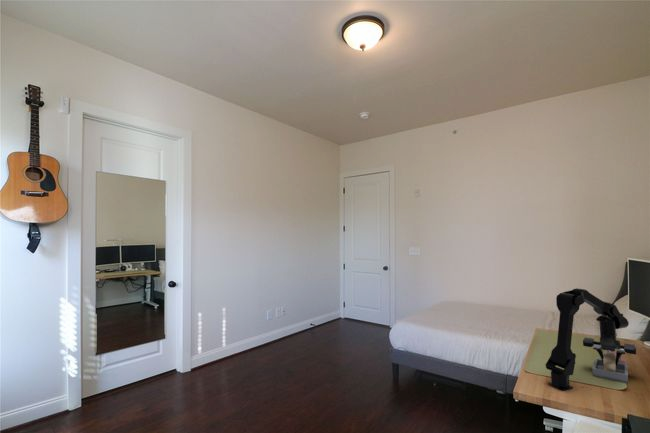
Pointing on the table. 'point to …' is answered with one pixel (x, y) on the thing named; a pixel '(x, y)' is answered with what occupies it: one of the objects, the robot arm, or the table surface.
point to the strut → (609, 361)
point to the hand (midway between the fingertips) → (610, 364)
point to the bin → (619, 375)
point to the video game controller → (619, 358)
